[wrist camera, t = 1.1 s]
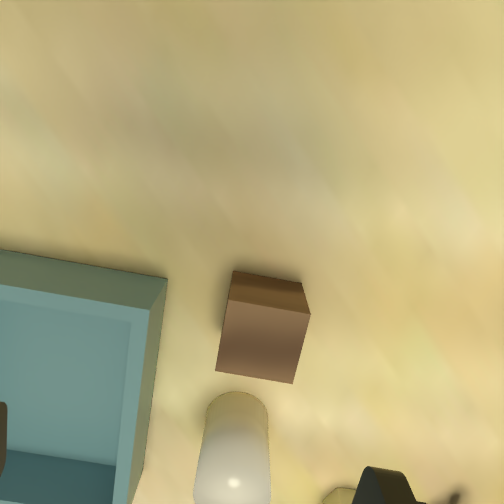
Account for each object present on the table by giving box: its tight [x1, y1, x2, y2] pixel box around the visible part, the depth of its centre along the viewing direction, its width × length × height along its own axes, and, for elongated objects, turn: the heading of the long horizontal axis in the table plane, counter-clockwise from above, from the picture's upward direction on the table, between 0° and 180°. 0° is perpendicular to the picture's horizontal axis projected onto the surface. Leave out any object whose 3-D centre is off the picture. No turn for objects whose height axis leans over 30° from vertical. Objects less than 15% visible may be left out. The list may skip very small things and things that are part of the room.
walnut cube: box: [215, 271, 311, 384], centre depth 26 cm, size 5×5×5 cm
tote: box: [0, 249, 168, 504], centre depth 28 cm, size 18×14×5 cm
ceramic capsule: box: [193, 392, 271, 504], centre depth 28 cm, size 5×5×7 cm
